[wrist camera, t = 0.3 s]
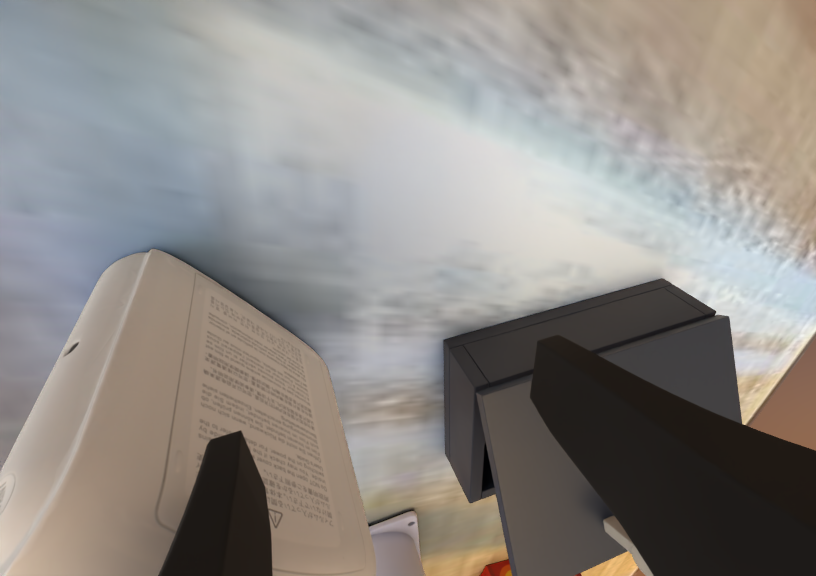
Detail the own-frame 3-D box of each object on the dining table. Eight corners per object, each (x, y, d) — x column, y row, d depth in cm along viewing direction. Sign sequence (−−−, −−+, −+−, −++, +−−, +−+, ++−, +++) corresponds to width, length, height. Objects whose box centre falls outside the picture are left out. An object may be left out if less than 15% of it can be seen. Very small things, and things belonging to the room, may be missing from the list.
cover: (738, 488, 26) (820, 529, 22) (514, 590, 22) (564, 662, 18) (717, 314, 24) (799, 324, 21) (475, 391, 21) (519, 422, 17)
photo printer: (66, 301, 16) (-184, 755, 6) (144, 224, 16) (3, 588, 6) (276, 408, 22) (312, 723, 13) (337, 355, 22) (424, 640, 12)
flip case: (627, 389, 33) (667, 427, 30) (444, 453, 29) (469, 504, 26) (663, 278, 27) (716, 311, 24) (443, 339, 24) (474, 387, 21)
